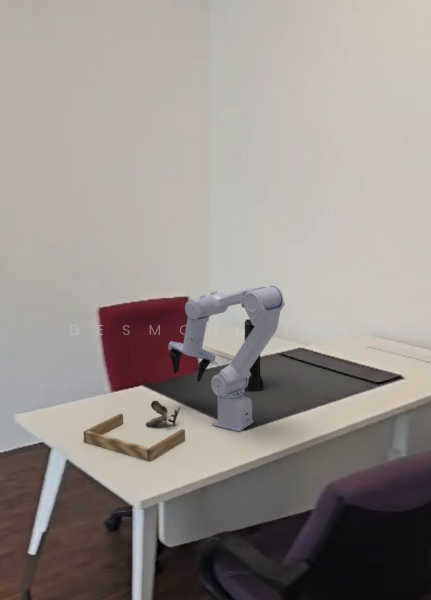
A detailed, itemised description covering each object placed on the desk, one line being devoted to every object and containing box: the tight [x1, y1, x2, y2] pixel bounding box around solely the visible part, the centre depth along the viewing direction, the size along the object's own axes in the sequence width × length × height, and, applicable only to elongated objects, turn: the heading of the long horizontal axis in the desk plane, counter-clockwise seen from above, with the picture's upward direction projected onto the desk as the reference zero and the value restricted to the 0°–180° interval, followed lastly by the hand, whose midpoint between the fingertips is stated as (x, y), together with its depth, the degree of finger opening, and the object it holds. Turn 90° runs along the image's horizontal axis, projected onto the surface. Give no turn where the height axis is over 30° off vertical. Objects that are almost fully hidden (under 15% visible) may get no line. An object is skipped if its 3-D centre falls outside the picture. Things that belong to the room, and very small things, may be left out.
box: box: [83, 413, 186, 462], centre depth 178 cm, size 23×15×3 cm, turn 57°
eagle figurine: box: [145, 400, 181, 427], centre depth 189 cm, size 8×7×9 cm
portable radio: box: [244, 318, 264, 392], centre depth 217 cm, size 8×6×25 cm
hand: (187, 376), depth 199 cm, fingers open, 7 cm apart
